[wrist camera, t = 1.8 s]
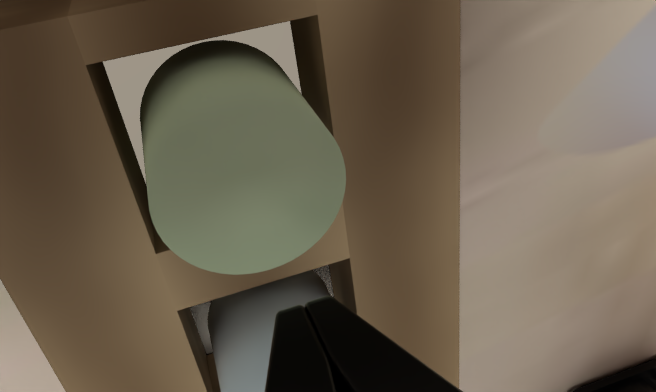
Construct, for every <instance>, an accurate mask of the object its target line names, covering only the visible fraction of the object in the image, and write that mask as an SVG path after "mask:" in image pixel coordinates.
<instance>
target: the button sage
mask: <svg viewBox="0 0 656 392" xmlns="http://www.w3.org/2000/svg"><path fill="white" fill-rule="evenodd" d="M140 122H141V131H142V142H143V153H144V163H145V173H146V184H147V194H148V204H149V212H150V215H151V219H152V222H153V224H154V227H155V229H156V231H157V233H158V234H159V236H160V237H161V239H162V241H163V242H164V243H165V244H166V245H167V246H168V247H169V249H170V250H171V251H173V252H174V253H175V254H176V255H177V256H179V257H180V258H181V259H183V260H185V261H186V262H188V263H190V264H192V265H194V266H196V267H198V268H201V269H204V270H207V271H211V272H216V273H221V274H232V275H239V274H252V273H258V272H262V271H267V270H270V269H273V268H276V267H279V266H281V265H284V264H286V263H288V262H290V261H292V260H294V259H295V258H297V257H299V256H300V255H302V254H303V253H304V252H306V251H307V250H308V249H310V248H311V247H312V246H313V245H314V244H315V243H316V242H318V241H319V240H320V239H321V237H322V236H323V235H324V234H325V233H326V232H327V230H328V229H329V227H330V226H331V224H332V223H333V222H334V220H335V218H336V216H337V214H338V212H339V209H340V207H341V204H342V201H343V197H344V193H345V186H346V169H345V164H344V159H343V156H342V153H341V150H340V148H339V146H338V144H337V142H336V140H335V139H334V137H333V136H332V134H331V133H330V132H329V130H328V129H327V128H326V127H325V125H324V124H323V123H322V121H321V120H320V119H319V117H318V116H317V115H316V113H315V112H314V111H313V109H312V108H311V107H310V105H309V104H308V103H307V101H306V100H305V99H304V97H303V96H302V95H301V93H300V92H299V91H298V90H297V88H296V87H295V86H294V84H293V83H292V81H291V80H290V79H289V77H288V76H287V75H286V74H285V72H284V71H283V70H282V68H281V67H280V66H279V65H278V64H277V63H276V62H275V61H274V60H273V59H272V58H271V57H269V56H268V55H267V54H265V53H264V52H262V51H260V50H258V49H257V48H254V47H252V46H249V45H247V44H243V43H239V42H234V41H226V40H225V41H224V40H220V41H208V42H202V43H199V44H195V45H192V46H190V47H187V48H185V49H183V50H181V51H179V52H178V53H176V54H174V55H173V56H171V57H170V58H169V59H168V60H166V61H165V62H164V63H163V64H162V65H161V66H160V67H159V68H158V69H157V70H156V72H155V73H154V75H153V76H152V77H151V79H150V81H149V83H148V85H147V87H146V89H145V92H144V95H143V97H142V102H141V108H140Z"/></svg>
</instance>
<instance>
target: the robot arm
mask: <svg viewBox="0 0 656 392" xmlns="http://www.w3.org/2000/svg"><path fill="white" fill-rule="evenodd" d="M265 392H463V391H461V390H460V389H458V388H457V387H456V386H454V385H453V384H452V383H450V382H449V381H447V380H446V379H445V378H443V377H442V376H441V375H439V374H438V373H437V372H435V371H434V370H432V369H431V368H430V367H428V366H427V365H426V364H424V363H423V362H421V361H420V360H419V359H417V358H416V357H415V356H413V355H412V354H410V353H409V352H408V351H406V350H405V349H404V348H402V347H401V346H399V345H398V344H397V343H395V342H394V341H393V340H391V339H390V338H389V337H387V336H386V335H384V334H383V333H382V332H380V331H379V330H378V329H376V328H375V327H373V326H372V325H371V324H369V323H368V322H367V321H365V320H364V319H362V318H361V317H360V316H358V315H357V314H356V313H354V312H353V311H352V310H350V309H349V308H347V307H346V306H345V305H343V304H342V303H341V302H339V301H338V300H336V299H335V298H334V297H332V296H324V297H321V298H318V299H315V300H312V301H309V302H307V303H306V304H305V307H304V306H303V305H296V306H293V307H290V308H286V309H283V310H280V311H278V312H277V314H276V317H275V323H274V330H273V337H272V344H271V351H270V358H269V365H268V371H267V378H266V385H265ZM573 392H656V359H654V360H652V361H649V362H646V363H644V364H641V365H638V366H636V367H633V368H631V369H628V370H625V371H623V372H620V373H618V374H615V375H612V376H610V377H607V378H605V379H602V380H599V381H597V382H594V383H591V384H589V385H586V386H584V387H581V388H578V389H576V390H574V391H573Z"/></svg>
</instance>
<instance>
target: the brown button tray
mask: <svg viewBox="0 0 656 392" xmlns="http://www.w3.org/2000/svg"><path fill="white" fill-rule="evenodd" d="M287 21H290V24H291V30H292V36H293V42H294V49H295V55H296V61H297V67H298V73H299V79H300V86H301V92H302V96H303V97H304V99H305V100H306V101H307V103H308V104H309V105H310V107H311V108H312V109H313V111H314V112H315V113H316V115H317V116H318V117H319V119H320V120H321V121H322V123H323V124H324V125H325V127H326V128H327V129H328V130H329V132H330V133H331V134H332V136H333V137H334V139H335V140H336V142H337V144H338V146H339V148H340V150H341V153H342V156H343V159H344V164H345V169H346V186H345V193H344V197H343V201H342V204H341V207H340V209H339V212H338V214H337V216H336V218H335V220H334V222H333V223H332V224H331V226H330V227H329V229H328V230H327V232H326V233H325V234H324V235H323V236H322V237H321V239H320V240H319V241H318V242H316V243H315V244H314V245H313V246H312V247H311V248H310V249H308V250H307V251H306V252H304V253H303V254H302V255H300V256H299V257H297V258H295V259H294V260H292V261H290V262H288V263H286V264H284V265H281V266H279V267H276V268H273V269H270V270H267V271H262V272H258V273H252V274H239V275H232V274H221V273H216V272H211V271H207V270H204V269H201V268H198V267H196V266H194V265H192V264H190V263H188V262H186V261H185V260H183V259H181V258H180V257H179V256H177V255H176V254H175V253H174V252H173V251H171V250H170V249H169V247H168V246H167V245H166V244H165V243H164V242H163V241H162V239H161V237H160V236H159V234H158V233H157V231H156V229H155V227H154V224H153V222H152V219H151V215H150V212H149V204H148V194H147V186H146V184H145V181H144V178H143V175H142V172H141V169H140V166H139V164H138V161H137V158H136V155H135V152H134V150H133V147H132V144H131V141H130V138H129V135H128V132H127V130H126V127H125V124H124V121H123V119H122V116H121V113H120V110H119V107H118V104H117V101H116V99H115V96H114V93H113V90H112V87H111V84H110V82H109V79H108V76H107V74H106V70H105V67H104V65H103V61H107V60H112V59H116V58H121V57H126V56H130V55H135V54H140V53H144V52H149V51H153V50H158V49H162V48H167V47H172V46H176V45H181V44H185V43H190V42H195V41H199V40H204V39H208V38H213V37H218V36H222V35H227V34H231V33H235V32H240V31H245V30H250V29H254V28H258V27H264V26H268V25H273V24H277V23H282V22H287ZM459 236H460V0H0V279H1V281H2V283H3V285H4V286H5V288H6V290H7V291H8V293H9V295H10V297H11V298H12V300H13V302H14V303H15V305H16V307H17V309H18V310H19V312H20V314H21V315H22V317H23V319H24V321H25V322H26V324H27V326H28V327H29V329H30V331H31V333H32V334H33V336H34V338H35V339H36V341H37V343H38V345H39V346H40V348H41V350H42V351H43V353H44V355H45V357H46V358H47V360H48V362H49V363H50V365H51V367H52V369H53V370H54V372H55V374H56V375H57V377H58V379H59V381H60V382H61V384H62V386H63V388H64V389H65V391H66V392H221V390H220V384H219V379H218V374H217V369H216V364H215V359H214V354H213V353H212V354H209V355H206V353H205V350H204V347H203V344H202V342H201V339H200V336H199V333H198V330H197V328H196V325H195V322H194V319H193V316H192V313H191V311H190V308H189V307H191V306H195V305H198V304H201V303H204V302H208V301H211V300H214V299H217V298H221V297H224V296H227V295H231V294H234V293H237V292H240V291H244V290H247V289H250V288H253V287H257V286H260V285H263V284H267V283H270V282H273V281H276V280H280V279H283V278H286V277H289V276H293V275H296V274H299V273H302V272H306V271H309V270H312V269H316V268H319V267H322V266H325V265H329V268H330V274H331V280H332V287H333V293H334V298H335V299H336V300H338V301H339V302H341V303H342V304H343V305H345V306H346V307H347V308H349V309H350V310H352V311H353V312H354V313H356V314H357V315H358V316H360V317H361V318H362V319H364V320H365V321H367V322H368V323H369V324H371V325H372V326H373V327H375V328H376V329H378V330H379V331H380V332H382V333H383V334H384V335H386V336H387V337H389V338H390V339H391V340H393V341H394V342H395V343H397V344H398V345H399V346H401V347H402V348H404V349H405V350H406V351H408V352H409V353H410V354H412V355H413V356H415V357H416V358H417V359H419V360H420V361H421V362H423V363H424V364H426V365H427V366H428V367H430V368H431V369H432V370H434V371H435V372H437V373H438V374H439V375H441V376H442V377H443V378H445V379H446V380H447V381H449V382H450V383H452V384H453V385H454V386H456V387H457V388H458V389H459Z"/></svg>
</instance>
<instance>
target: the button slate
mask: <svg viewBox="0 0 656 392" xmlns="http://www.w3.org/2000/svg"><path fill="white" fill-rule="evenodd" d="M324 296H330V294H329V292H328V289H327V287H326V285H325V283H324V282H323V280H322V279H321V278H320V277H319V276H318V274H317V273H315V272H314V271H312V270H309V271H306V272H302V273H299V274H296V275H293V276H289V277H286V278H283V279H280V280H276V281H273V282H270V283H267V284H263V285H260V286H257V287H253V288H250V289H247V290H244V291H240V292H237V293H234V294H231V295H227V296H224V297H221V298H217V299H214V300H213V301H212V303H211V306H210V309H209V312H208V329H209V334H210V339H211V344H212V349H213V354H214V359H215V364H216V369H217V374H218V379H219V384H220V390H221V392H265V385H266V378H267V371H268V365H269V358H270V351H271V344H272V337H273V330H274V323H275V317H276V314H277V312H278V311H280V310H283V309H286V308H290V307H293V306H296V305H303V306H304V307H305V304H306V303H307V302H309V301H312V300H315V299H318V298H321V297H324Z"/></svg>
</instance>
